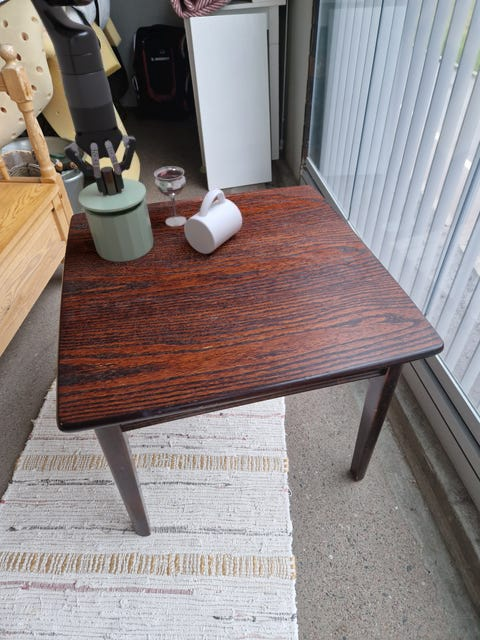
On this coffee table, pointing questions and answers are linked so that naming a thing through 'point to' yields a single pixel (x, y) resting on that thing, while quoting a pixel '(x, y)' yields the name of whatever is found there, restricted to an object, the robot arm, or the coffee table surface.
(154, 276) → the coffee table surface
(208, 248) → the mug
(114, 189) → the lid
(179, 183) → the wineglass
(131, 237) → the jar
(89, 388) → the coffee table surface
